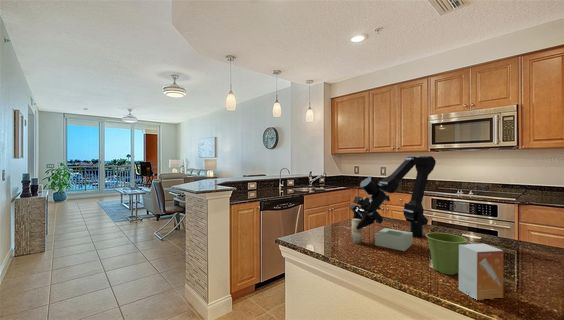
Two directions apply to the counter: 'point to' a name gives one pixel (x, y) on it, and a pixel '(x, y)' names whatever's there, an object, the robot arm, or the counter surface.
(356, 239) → the beech peg
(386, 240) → the socket block
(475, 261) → the small box
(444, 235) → the plant pot
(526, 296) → the counter surface
